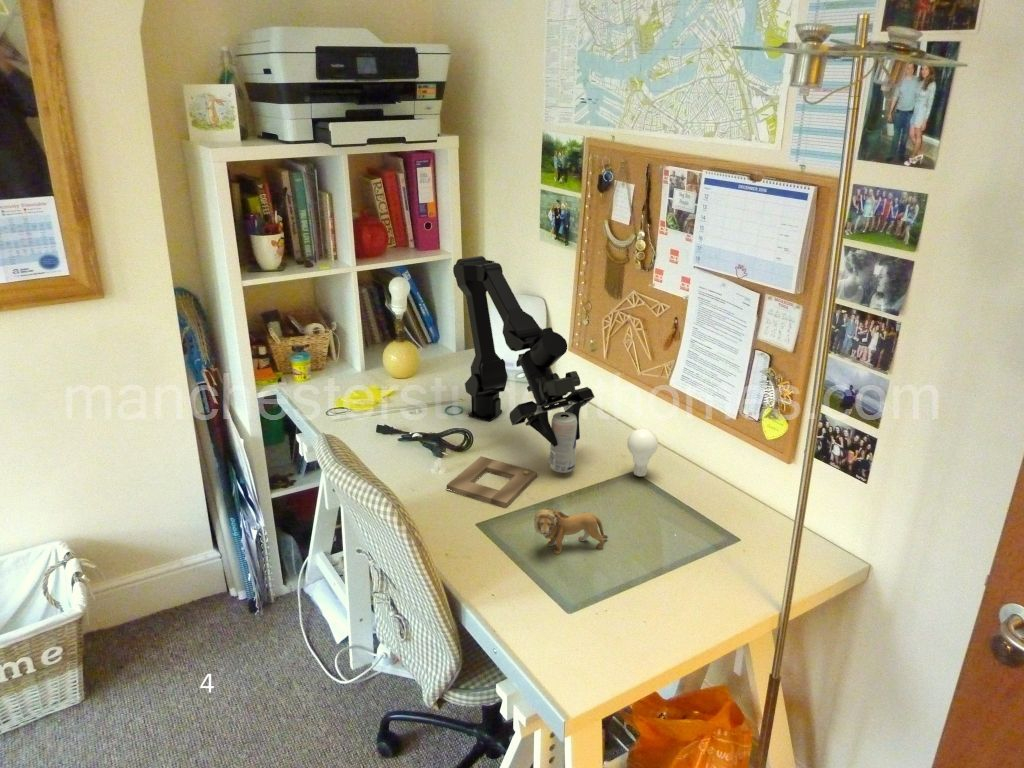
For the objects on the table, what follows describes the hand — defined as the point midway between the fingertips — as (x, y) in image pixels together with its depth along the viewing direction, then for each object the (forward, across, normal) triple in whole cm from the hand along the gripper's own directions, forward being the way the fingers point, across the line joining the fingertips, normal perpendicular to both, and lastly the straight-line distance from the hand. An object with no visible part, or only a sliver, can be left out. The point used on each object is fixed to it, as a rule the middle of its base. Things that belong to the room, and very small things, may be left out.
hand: (567, 442), depth 159 cm
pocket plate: (+2, -15, +9) cm, 18 cm away
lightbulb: (+12, +14, 0) cm, 18 cm away
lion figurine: (+21, -15, -10) cm, 27 cm away
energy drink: (+4, 0, +6) cm, 7 cm away
